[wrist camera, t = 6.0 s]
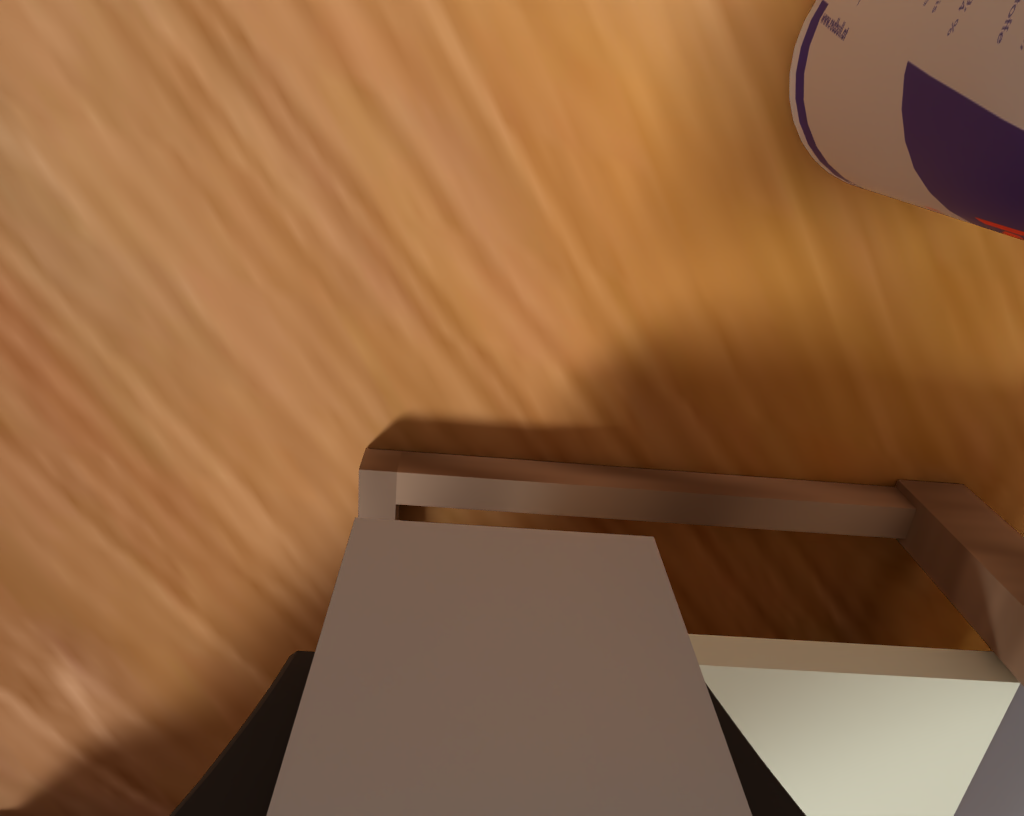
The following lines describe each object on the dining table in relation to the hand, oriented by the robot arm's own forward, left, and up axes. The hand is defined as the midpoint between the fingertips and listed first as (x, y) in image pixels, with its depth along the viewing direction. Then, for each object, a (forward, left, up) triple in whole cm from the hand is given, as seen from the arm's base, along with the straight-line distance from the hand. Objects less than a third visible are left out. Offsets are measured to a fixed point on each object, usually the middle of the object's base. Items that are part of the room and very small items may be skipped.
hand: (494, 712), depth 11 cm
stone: (0, 0, -1) cm, 1 cm away
